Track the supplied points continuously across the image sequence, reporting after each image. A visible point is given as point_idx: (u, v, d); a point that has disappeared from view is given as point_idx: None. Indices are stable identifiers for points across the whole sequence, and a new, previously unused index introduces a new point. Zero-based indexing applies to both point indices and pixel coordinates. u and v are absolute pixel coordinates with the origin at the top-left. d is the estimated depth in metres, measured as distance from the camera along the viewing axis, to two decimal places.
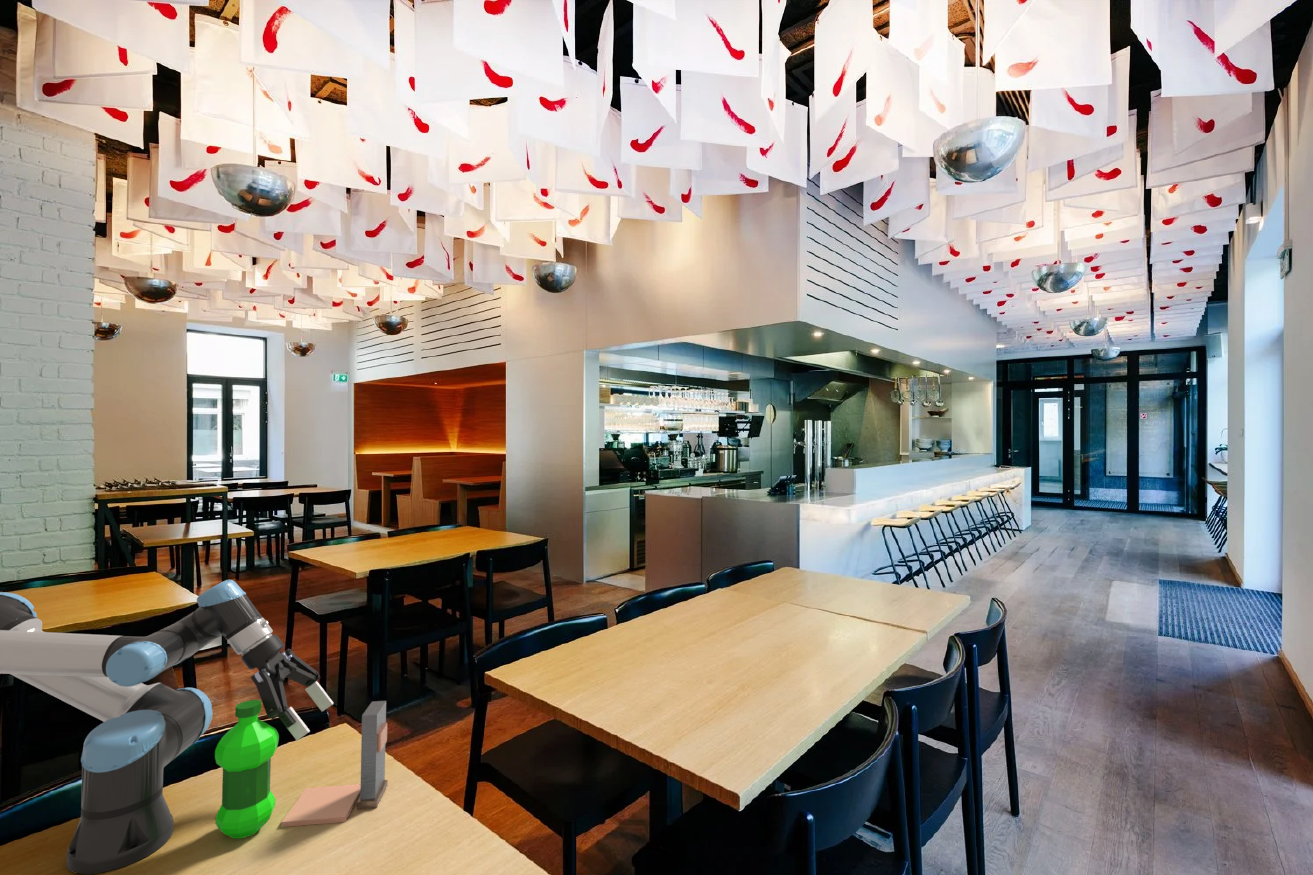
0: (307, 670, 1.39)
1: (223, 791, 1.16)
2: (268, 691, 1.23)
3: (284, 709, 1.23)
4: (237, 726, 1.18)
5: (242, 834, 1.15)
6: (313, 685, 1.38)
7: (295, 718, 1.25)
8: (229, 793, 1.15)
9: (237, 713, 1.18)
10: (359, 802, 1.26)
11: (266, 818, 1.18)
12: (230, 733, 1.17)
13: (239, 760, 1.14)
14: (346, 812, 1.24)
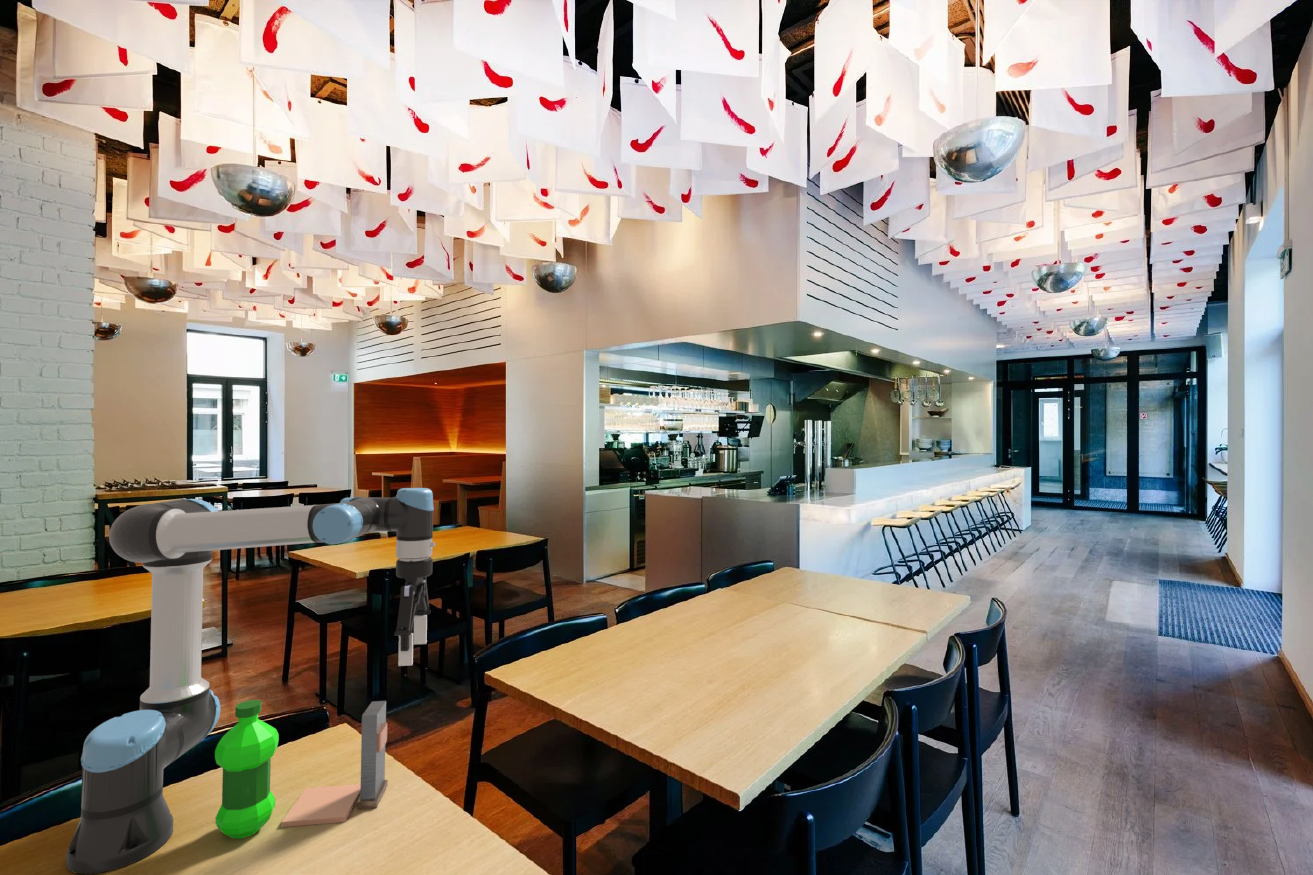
0: (425, 600, 1.40)
1: (223, 791, 1.16)
2: (408, 609, 1.24)
3: (409, 633, 1.24)
4: (237, 726, 1.18)
5: (242, 834, 1.15)
6: (422, 617, 1.39)
7: (410, 646, 1.25)
8: (229, 793, 1.15)
9: (237, 713, 1.17)
10: (359, 802, 1.26)
11: (266, 818, 1.18)
12: (230, 733, 1.17)
13: (239, 760, 1.14)
14: (346, 812, 1.24)
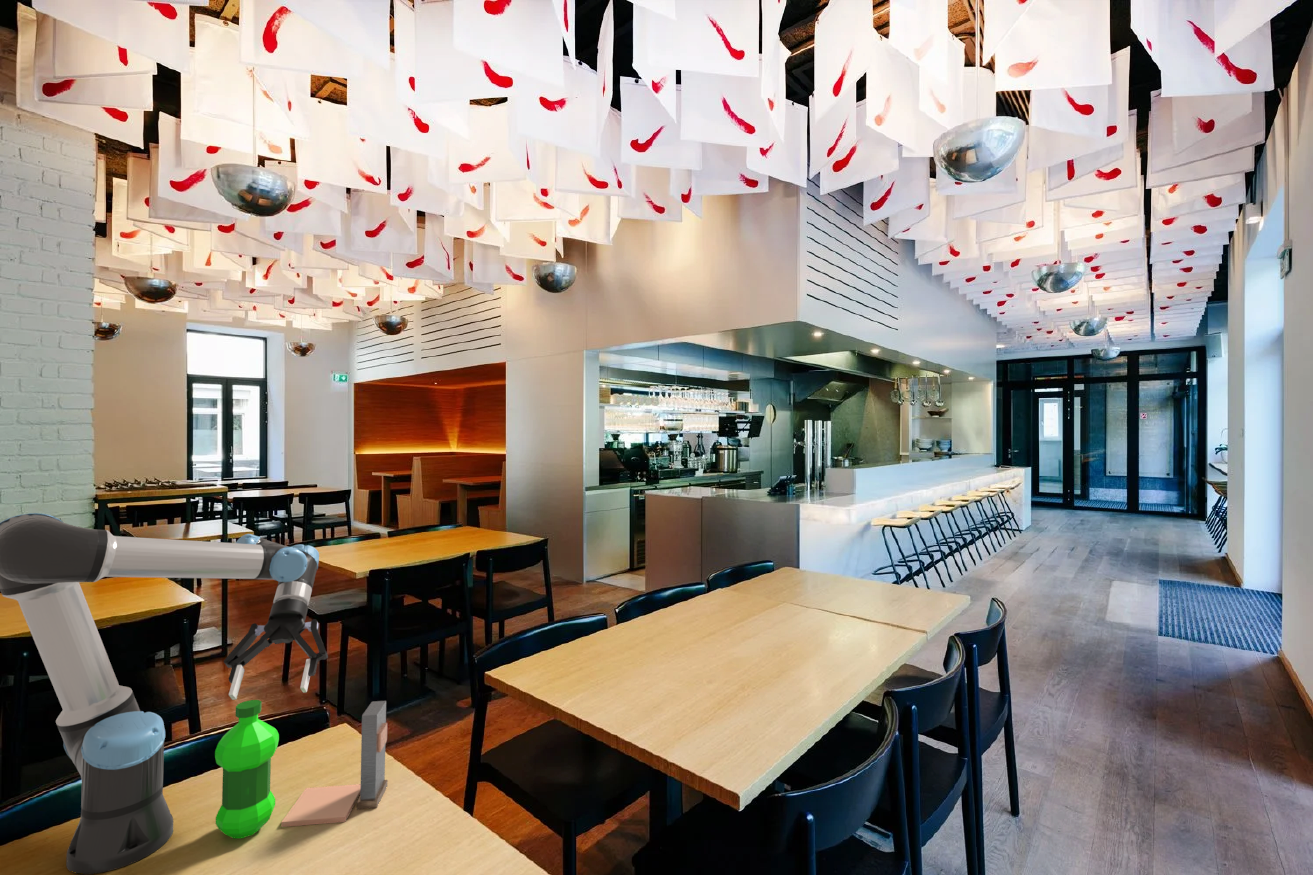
0: (240, 655, 1.35)
1: (223, 791, 1.16)
2: None
3: None
4: (237, 726, 1.18)
5: (242, 834, 1.15)
6: (243, 670, 1.32)
7: None
8: (229, 793, 1.15)
9: (237, 713, 1.18)
10: (359, 802, 1.26)
11: (266, 818, 1.18)
12: (230, 733, 1.17)
13: (239, 760, 1.14)
14: (346, 812, 1.24)
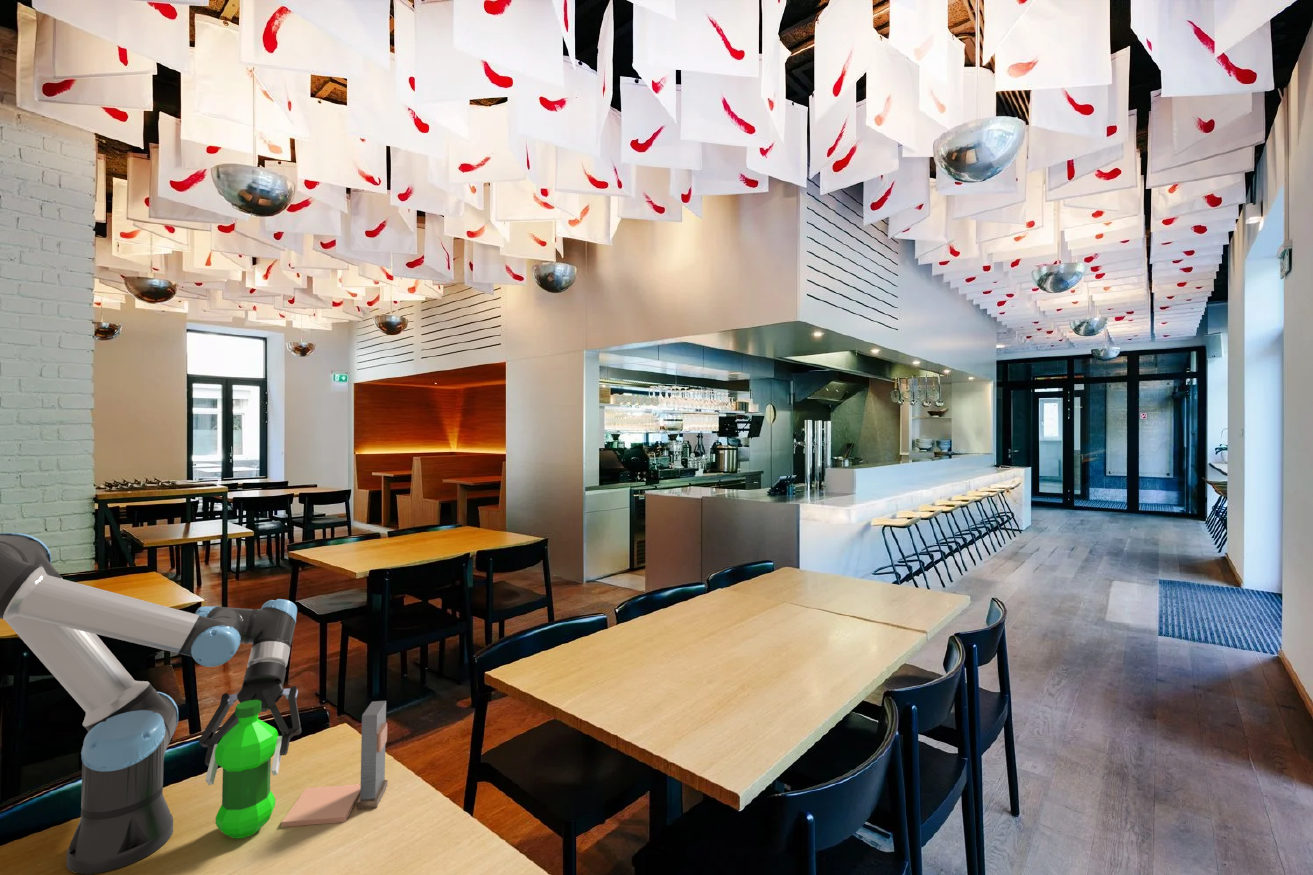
0: (215, 731, 1.21)
1: (223, 791, 1.16)
2: (297, 710, 1.27)
3: None
4: (237, 726, 1.18)
5: (242, 834, 1.16)
6: None
7: None
8: (229, 793, 1.15)
9: (237, 713, 1.17)
10: (359, 802, 1.26)
11: (266, 818, 1.18)
12: (230, 733, 1.17)
13: (239, 760, 1.14)
14: (346, 812, 1.24)
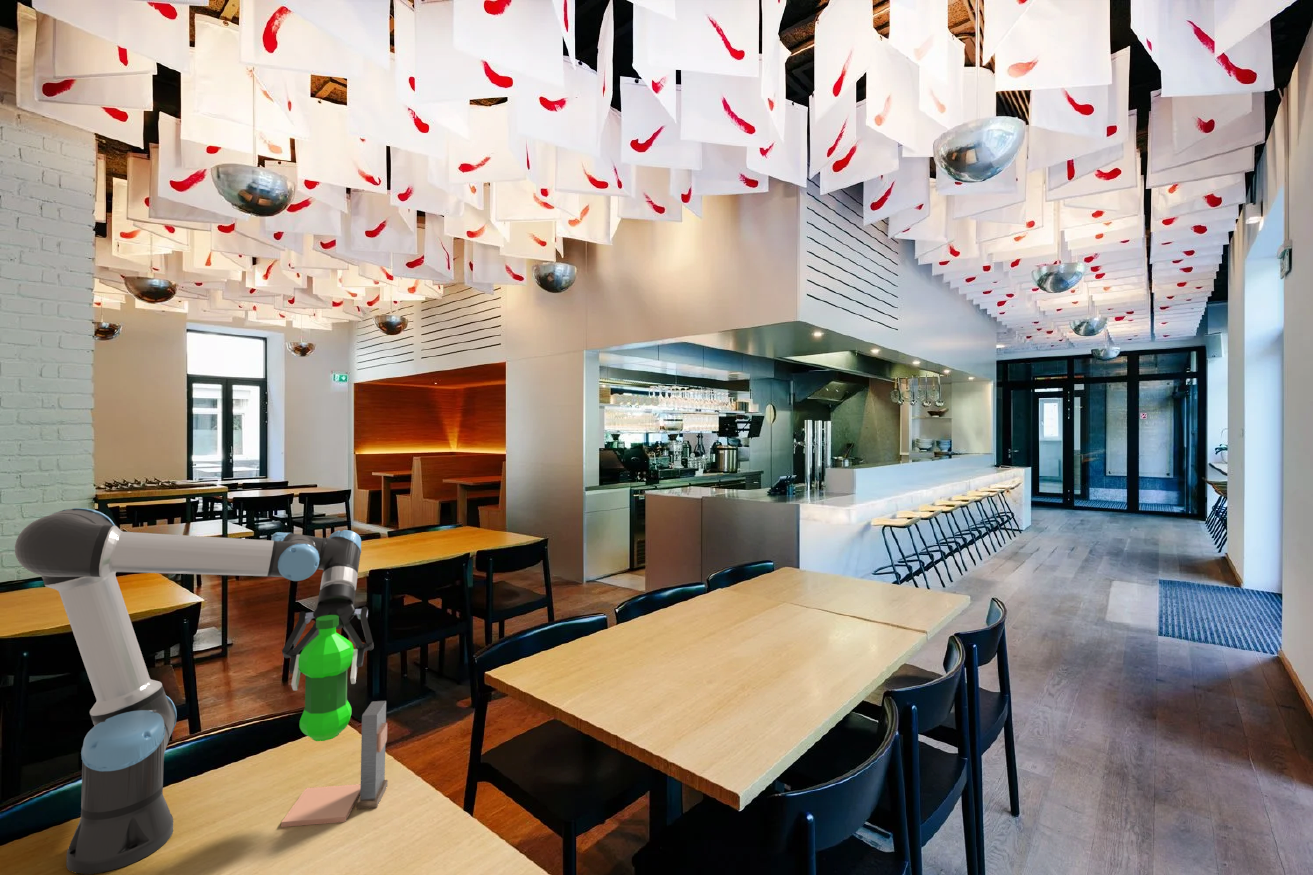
0: (295, 644, 1.29)
1: (306, 696, 1.25)
2: None
3: None
4: (318, 637, 1.26)
5: (324, 736, 1.24)
6: None
7: None
8: (312, 697, 1.23)
9: (318, 625, 1.26)
10: (359, 802, 1.26)
11: (345, 723, 1.27)
12: (312, 643, 1.25)
13: (322, 666, 1.22)
14: (346, 812, 1.24)
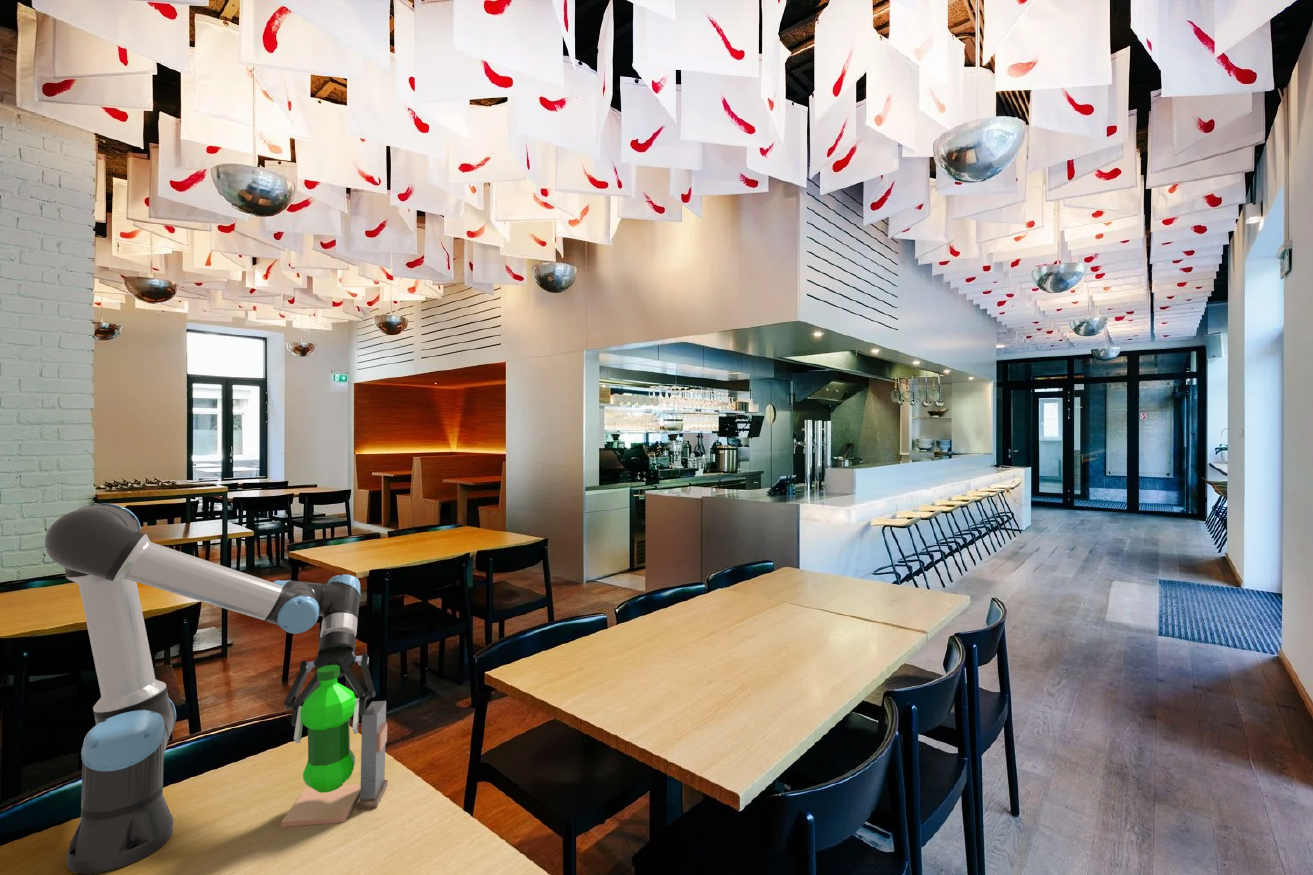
0: (296, 695, 1.29)
1: (308, 749, 1.25)
2: None
3: None
4: (319, 688, 1.26)
5: (328, 788, 1.24)
6: None
7: None
8: (315, 750, 1.24)
9: (319, 676, 1.26)
10: (359, 802, 1.26)
11: (349, 774, 1.27)
12: (313, 695, 1.25)
13: (324, 719, 1.23)
14: (346, 812, 1.24)
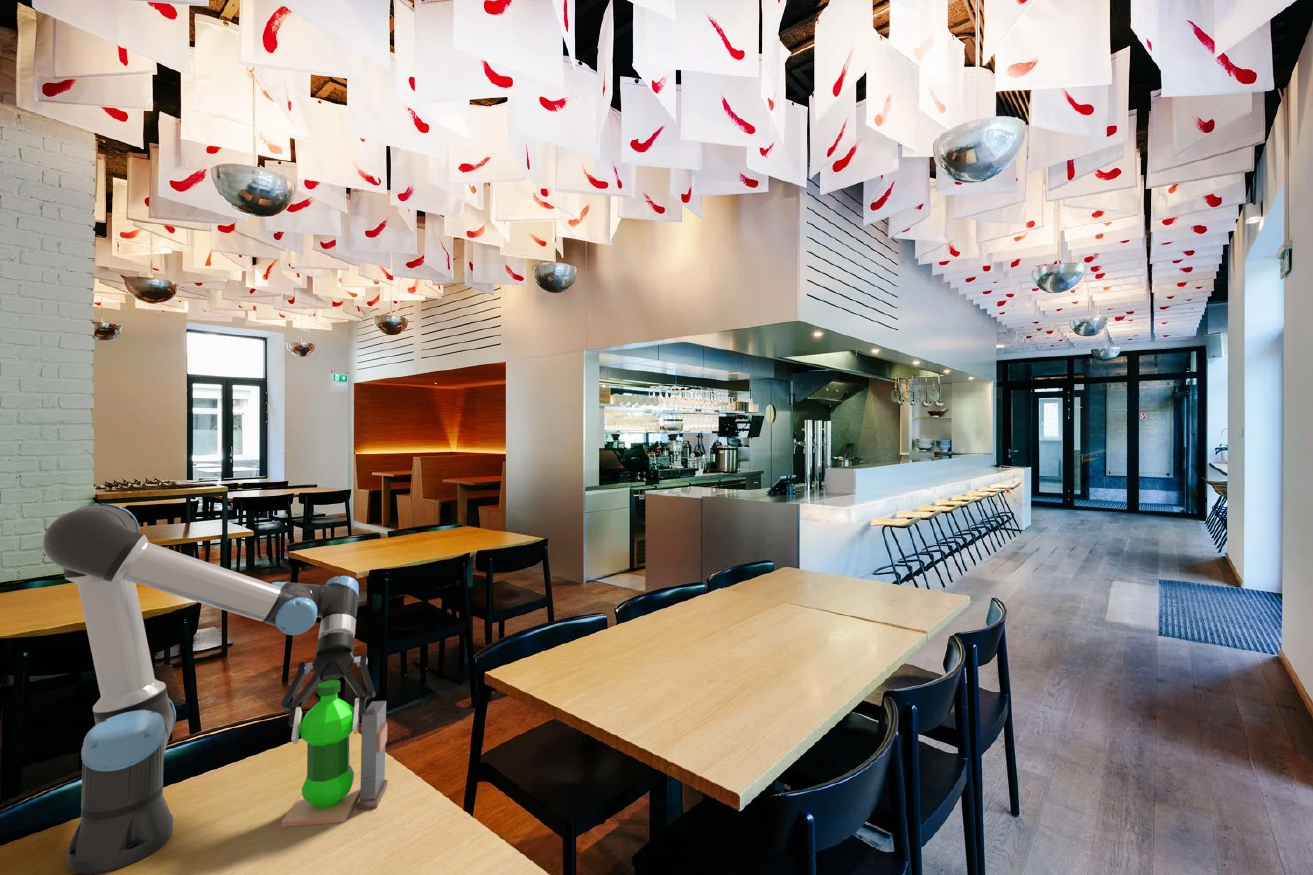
0: (294, 696, 1.29)
1: (308, 764, 1.25)
2: None
3: None
4: (319, 704, 1.26)
5: (326, 804, 1.24)
6: (301, 712, 1.27)
7: None
8: (314, 765, 1.23)
9: (319, 692, 1.26)
10: (359, 802, 1.26)
11: (347, 790, 1.26)
12: (313, 710, 1.25)
13: (323, 735, 1.22)
14: (346, 812, 1.24)
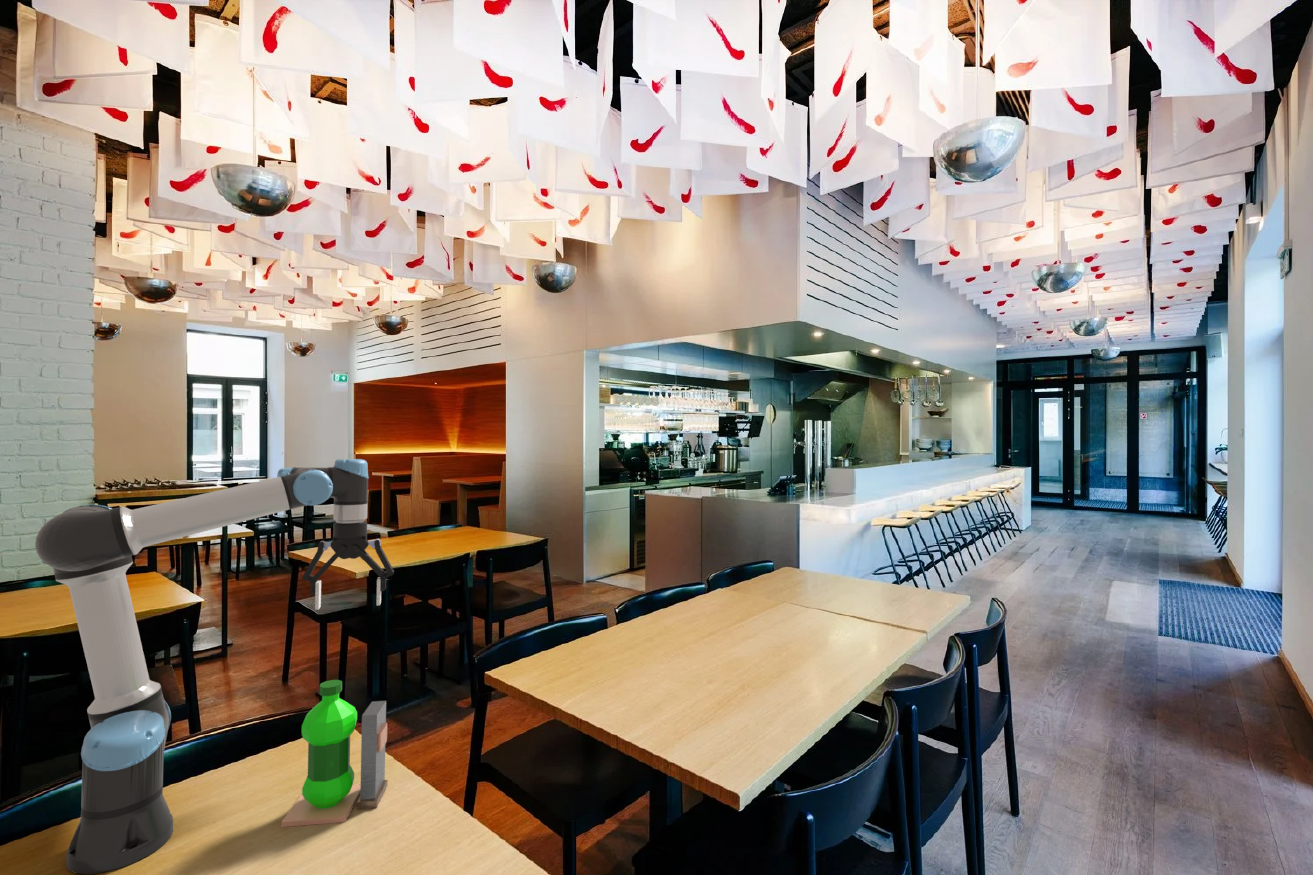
0: None
1: (308, 764, 1.25)
2: (385, 556, 1.52)
3: None
4: (321, 704, 1.26)
5: (326, 804, 1.24)
6: (320, 582, 1.47)
7: None
8: (314, 765, 1.24)
9: (321, 691, 1.26)
10: (359, 802, 1.26)
11: (347, 790, 1.26)
12: (315, 710, 1.25)
13: (325, 735, 1.22)
14: (346, 812, 1.24)
